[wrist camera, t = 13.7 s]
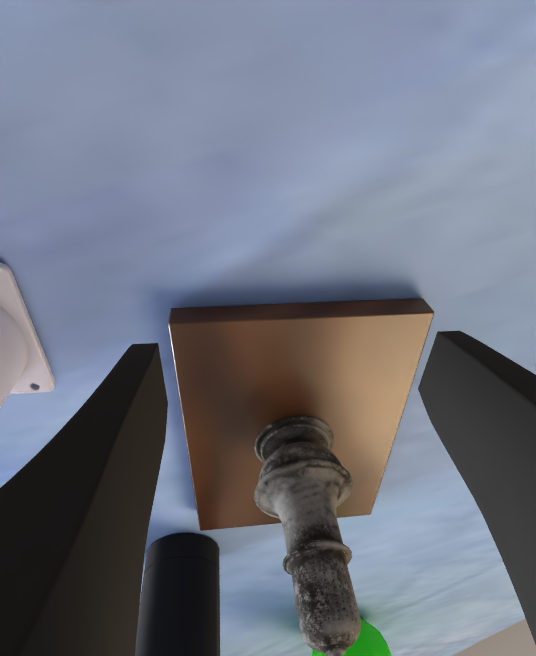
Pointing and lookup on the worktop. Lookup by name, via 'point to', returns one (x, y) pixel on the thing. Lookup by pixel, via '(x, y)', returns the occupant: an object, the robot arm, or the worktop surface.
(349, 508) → the cutting board
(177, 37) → the worktop surface
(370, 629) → the plastic bottle
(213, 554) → the black bottle
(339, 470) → the grey stone baluster
